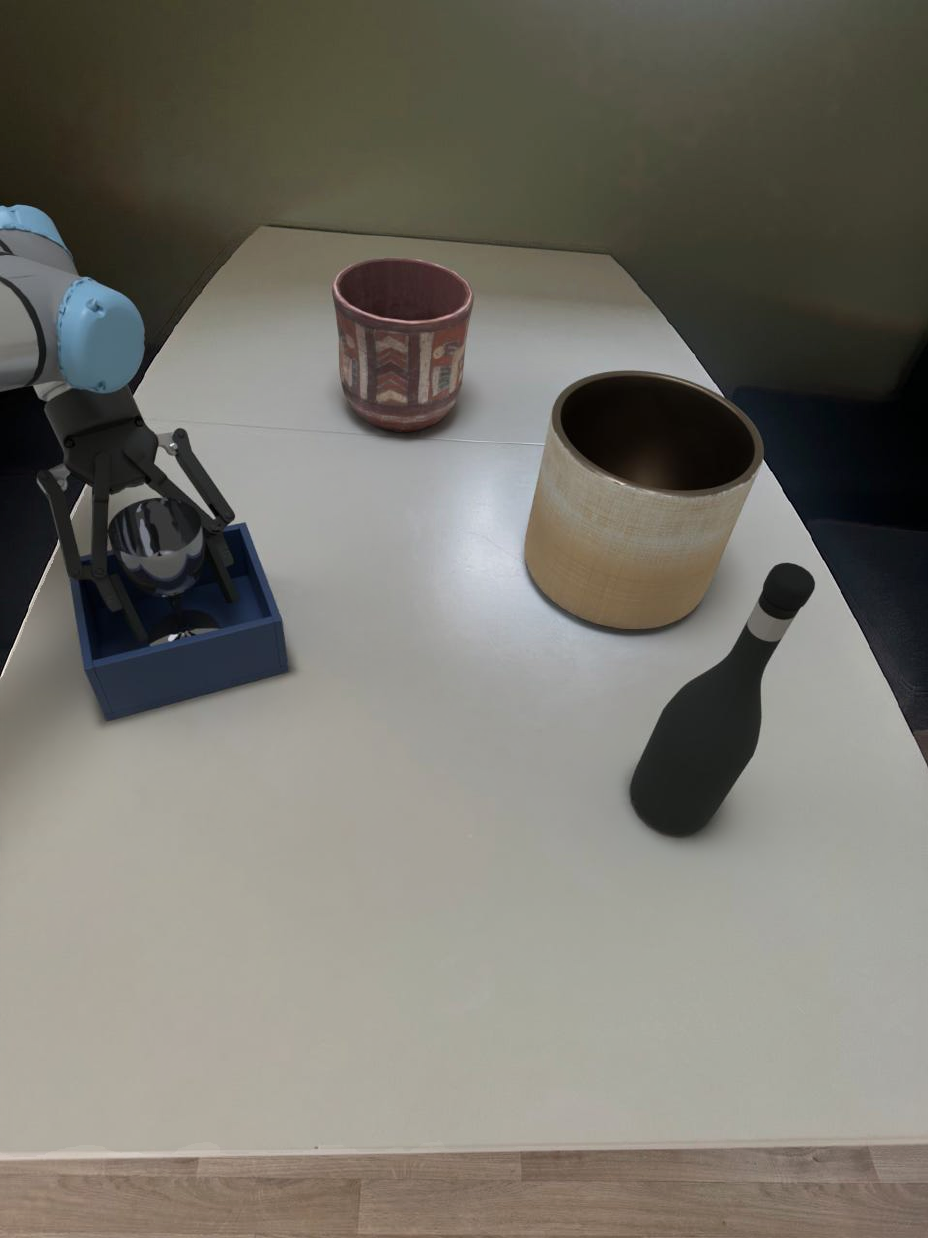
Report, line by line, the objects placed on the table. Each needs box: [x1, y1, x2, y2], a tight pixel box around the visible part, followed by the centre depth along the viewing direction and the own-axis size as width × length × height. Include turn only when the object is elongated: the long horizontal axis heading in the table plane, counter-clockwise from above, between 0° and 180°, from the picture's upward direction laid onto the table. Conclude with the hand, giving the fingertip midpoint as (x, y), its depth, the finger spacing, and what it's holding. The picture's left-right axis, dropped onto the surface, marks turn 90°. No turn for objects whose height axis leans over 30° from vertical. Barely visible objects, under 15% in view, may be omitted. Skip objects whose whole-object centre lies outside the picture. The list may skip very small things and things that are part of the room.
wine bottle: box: [630, 562, 816, 835], centre depth 64 cm, size 8×8×30 cm
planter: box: [524, 369, 765, 630], centre depth 88 cm, size 22×22×20 cm
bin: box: [68, 521, 290, 722], centre depth 80 cm, size 18×15×8 cm
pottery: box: [331, 257, 475, 433], centre depth 107 cm, size 18×18×18 cm
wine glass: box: [108, 497, 220, 647], centre depth 77 cm, size 8×8×15 cm
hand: (189, 620), depth 76 cm, fingers open, 8 cm apart
